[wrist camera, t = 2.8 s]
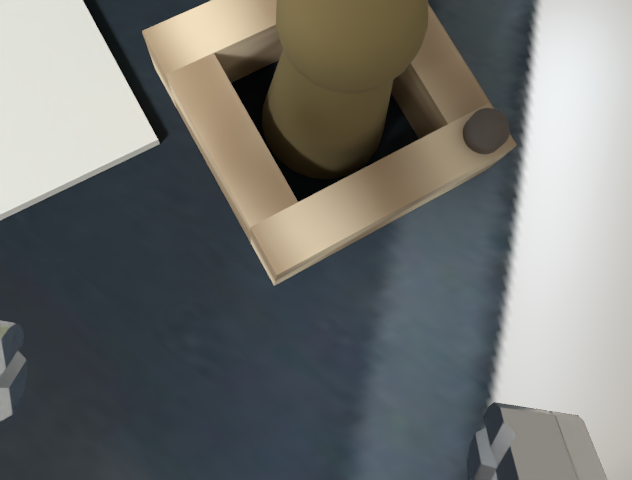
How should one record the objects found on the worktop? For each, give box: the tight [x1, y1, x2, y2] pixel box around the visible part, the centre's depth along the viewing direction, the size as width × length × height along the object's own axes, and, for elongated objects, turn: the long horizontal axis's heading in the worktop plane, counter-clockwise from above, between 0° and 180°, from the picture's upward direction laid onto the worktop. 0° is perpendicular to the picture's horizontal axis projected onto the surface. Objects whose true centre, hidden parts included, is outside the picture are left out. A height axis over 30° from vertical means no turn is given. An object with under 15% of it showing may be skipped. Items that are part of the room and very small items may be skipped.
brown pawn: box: [262, 0, 428, 179], centre depth 24 cm, size 6×6×11 cm
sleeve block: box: [142, 0, 517, 286], centre depth 28 cm, size 12×12×4 cm
